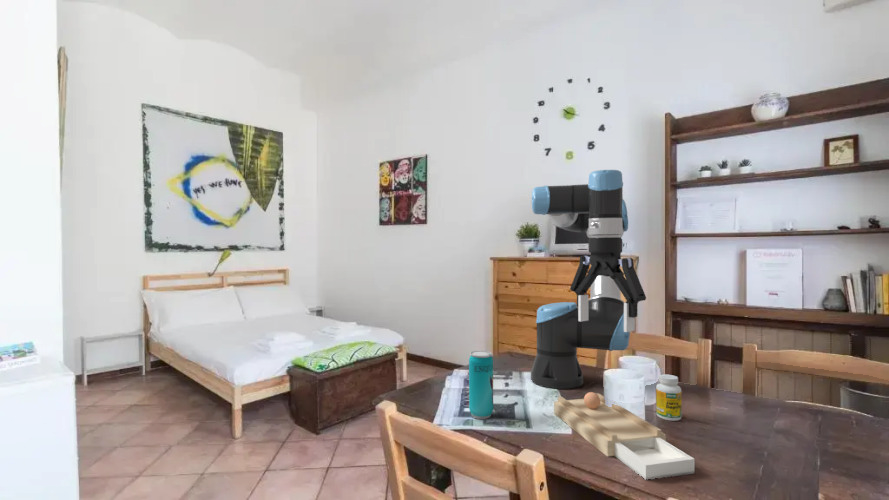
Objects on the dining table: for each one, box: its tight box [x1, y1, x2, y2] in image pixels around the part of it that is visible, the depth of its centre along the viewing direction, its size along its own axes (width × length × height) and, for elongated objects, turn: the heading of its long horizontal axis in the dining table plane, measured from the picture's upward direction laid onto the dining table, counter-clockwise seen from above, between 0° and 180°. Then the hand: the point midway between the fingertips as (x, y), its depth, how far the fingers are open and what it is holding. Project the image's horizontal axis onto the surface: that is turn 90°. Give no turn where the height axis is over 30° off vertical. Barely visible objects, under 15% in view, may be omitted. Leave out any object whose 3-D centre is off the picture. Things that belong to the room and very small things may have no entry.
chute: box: [553, 392, 667, 457], centre depth 96 cm, size 22×13×4 cm, turn 13°
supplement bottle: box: [655, 373, 683, 422], centre depth 104 cm, size 5×5×10 cm
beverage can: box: [468, 350, 494, 420], centre depth 105 cm, size 6×6×15 cm
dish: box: [613, 437, 696, 481], centre depth 82 cm, size 10×10×3 cm
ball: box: [583, 391, 600, 409], centre depth 101 cm, size 4×4×4 cm
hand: (605, 325), depth 104 cm, fingers open, 13 cm apart
